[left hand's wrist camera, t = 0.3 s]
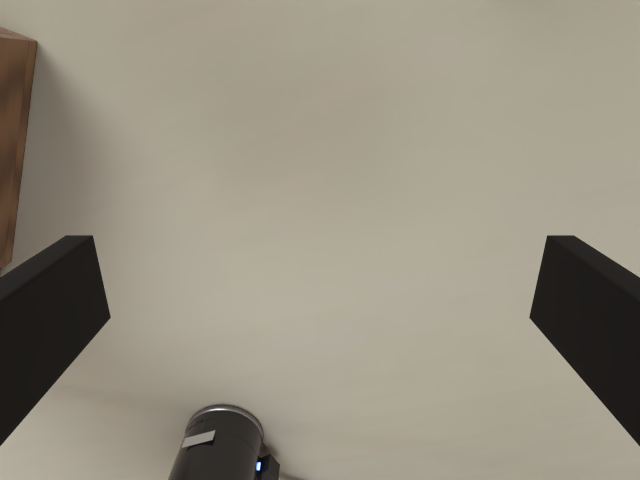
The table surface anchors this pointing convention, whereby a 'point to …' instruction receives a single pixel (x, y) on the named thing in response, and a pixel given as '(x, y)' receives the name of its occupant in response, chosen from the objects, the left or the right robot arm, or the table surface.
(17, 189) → the cabinet
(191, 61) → the table surface
